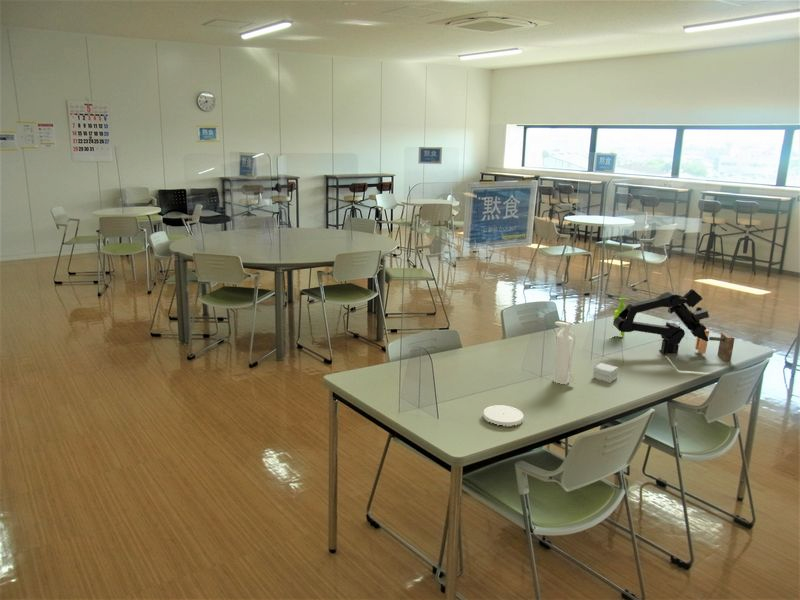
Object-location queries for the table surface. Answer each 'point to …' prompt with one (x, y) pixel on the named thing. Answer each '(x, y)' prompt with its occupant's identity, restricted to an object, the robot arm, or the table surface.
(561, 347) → the spray bottle
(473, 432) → the table surface
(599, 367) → the small box
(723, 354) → the walnut stand
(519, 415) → the plastic lid
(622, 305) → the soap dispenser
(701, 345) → the C-link
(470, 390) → the table surface
